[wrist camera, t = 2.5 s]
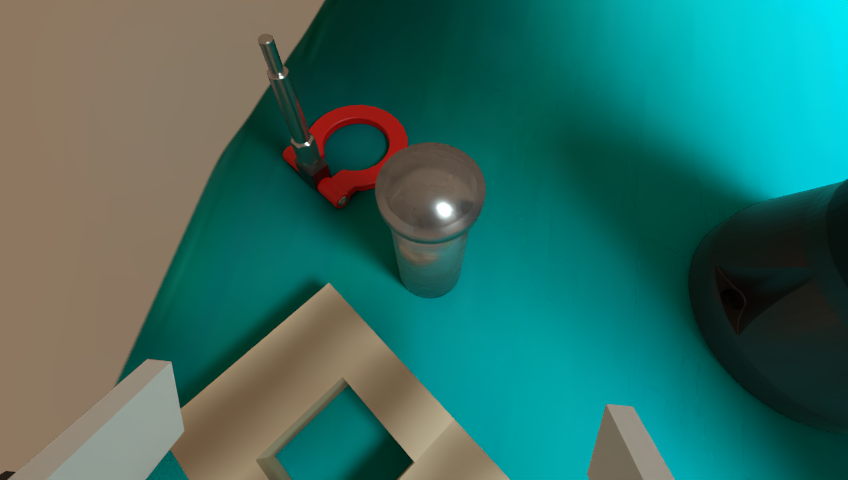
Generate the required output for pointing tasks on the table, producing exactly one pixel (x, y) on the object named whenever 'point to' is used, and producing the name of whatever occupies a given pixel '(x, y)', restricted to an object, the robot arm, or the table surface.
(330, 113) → the tow hook
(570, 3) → the table surface
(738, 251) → the robot arm
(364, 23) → the table surface
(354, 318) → the jig
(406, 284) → the domed cap cylinder
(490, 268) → the table surface
